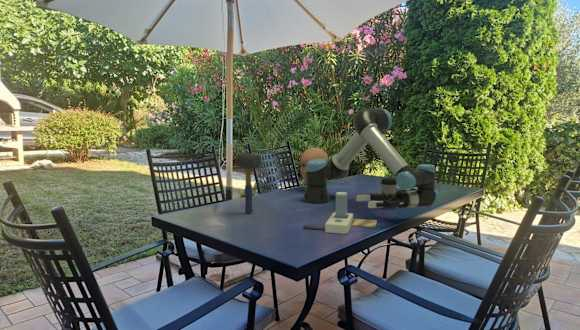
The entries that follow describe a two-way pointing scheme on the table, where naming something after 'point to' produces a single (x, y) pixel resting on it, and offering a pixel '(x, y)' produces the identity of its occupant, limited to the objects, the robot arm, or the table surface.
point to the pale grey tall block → (341, 205)
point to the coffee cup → (388, 187)
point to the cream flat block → (335, 224)
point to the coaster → (364, 223)
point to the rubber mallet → (248, 174)
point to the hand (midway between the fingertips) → (362, 201)
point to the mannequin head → (311, 158)
